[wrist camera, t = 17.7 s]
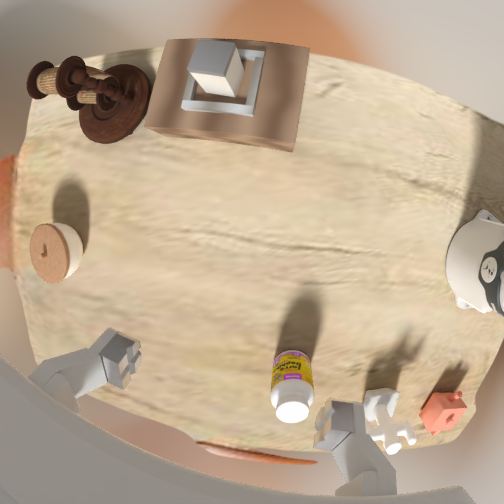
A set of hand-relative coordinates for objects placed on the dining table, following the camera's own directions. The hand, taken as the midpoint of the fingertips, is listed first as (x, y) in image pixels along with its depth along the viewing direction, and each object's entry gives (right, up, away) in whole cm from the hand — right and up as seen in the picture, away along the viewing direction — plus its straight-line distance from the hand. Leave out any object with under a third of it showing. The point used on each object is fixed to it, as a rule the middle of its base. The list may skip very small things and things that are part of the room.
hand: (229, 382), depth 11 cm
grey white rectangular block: (-2, +27, +20) cm, 34 cm away
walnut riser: (-2, +29, +28) cm, 40 cm away
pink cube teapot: (+43, -28, +36) cm, 63 cm away
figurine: (+26, -24, +37) cm, 51 cm away
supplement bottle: (+8, -14, +37) cm, 40 cm away
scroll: (-23, +31, +30) cm, 49 cm away
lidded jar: (-34, +6, +36) cm, 50 cm away
